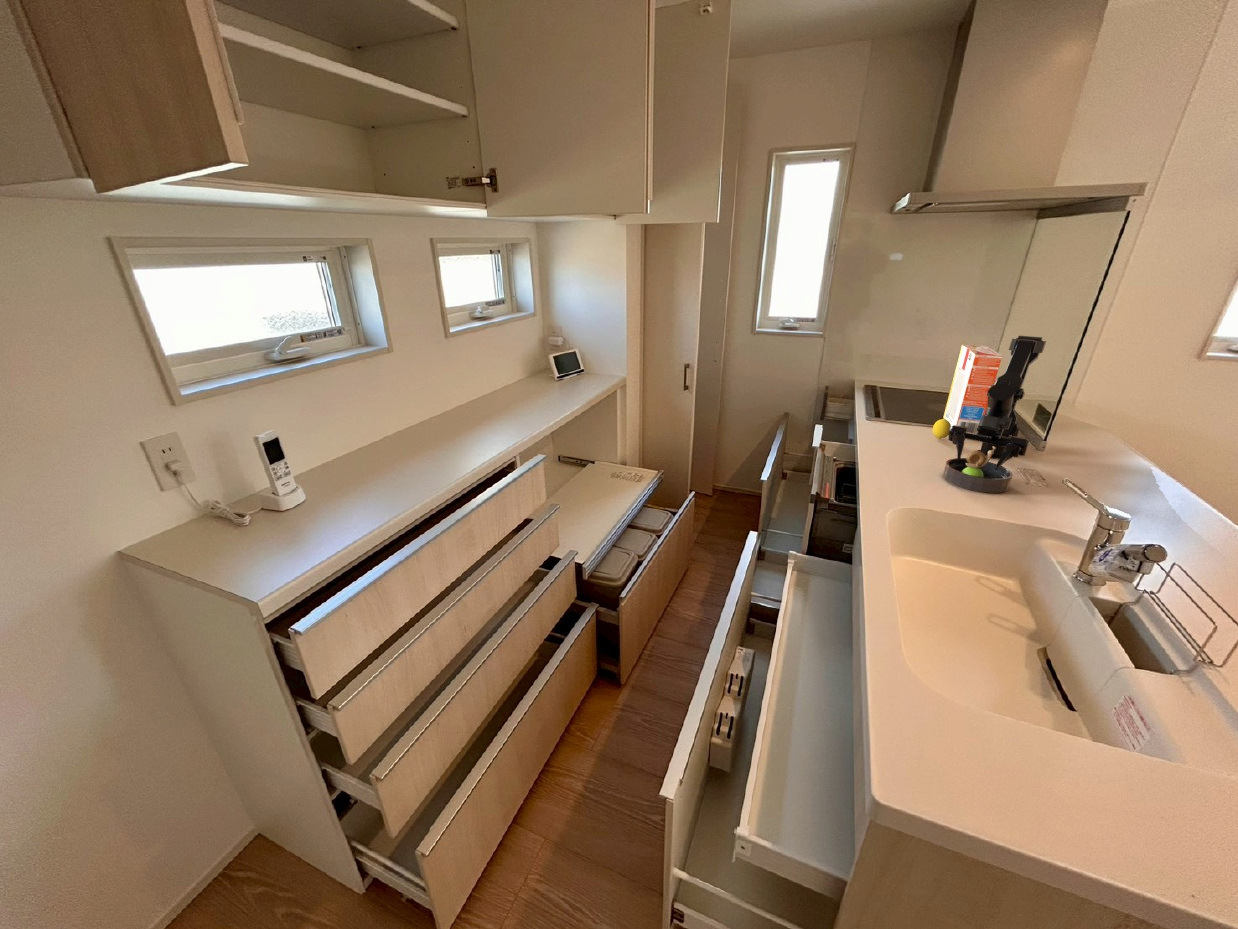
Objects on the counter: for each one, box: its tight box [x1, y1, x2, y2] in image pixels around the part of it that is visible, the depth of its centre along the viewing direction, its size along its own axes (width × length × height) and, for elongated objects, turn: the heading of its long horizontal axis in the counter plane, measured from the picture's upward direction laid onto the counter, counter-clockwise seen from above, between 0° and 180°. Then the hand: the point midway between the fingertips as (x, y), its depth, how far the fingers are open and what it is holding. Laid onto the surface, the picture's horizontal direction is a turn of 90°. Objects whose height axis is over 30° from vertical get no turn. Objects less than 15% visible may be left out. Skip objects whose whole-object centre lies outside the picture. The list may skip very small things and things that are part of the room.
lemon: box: [932, 418, 951, 440], centre depth 181 cm, size 6×6×8 cm
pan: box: [942, 457, 1014, 494], centre depth 147 cm, size 16×16×4 cm
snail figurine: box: [962, 446, 996, 478], centre depth 143 cm, size 5×6×12 cm
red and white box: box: [942, 344, 1003, 434], centre depth 191 cm, size 23×8×30 cm, turn 157°
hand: (976, 464), depth 142 cm, fingers open, 9 cm apart
